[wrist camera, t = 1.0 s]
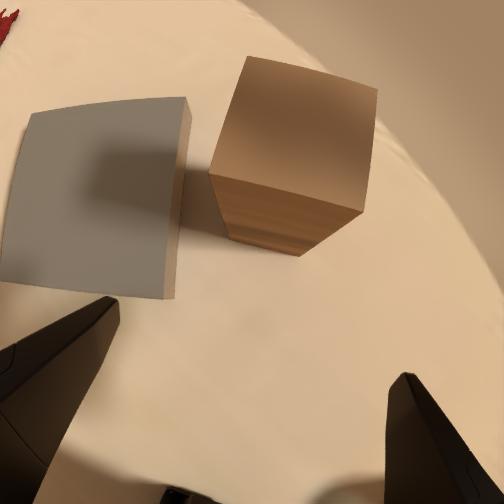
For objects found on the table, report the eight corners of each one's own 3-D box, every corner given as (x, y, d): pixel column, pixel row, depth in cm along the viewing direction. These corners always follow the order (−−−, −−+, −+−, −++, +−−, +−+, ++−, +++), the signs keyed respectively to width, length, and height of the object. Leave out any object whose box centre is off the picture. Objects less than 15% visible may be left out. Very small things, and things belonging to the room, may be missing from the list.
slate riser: (174, 298, 22) (163, 299, 19) (20, 282, 22) (-1, 280, 19) (192, 117, 24) (185, 96, 21) (47, 128, 24) (31, 113, 21)
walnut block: (299, 256, 23) (363, 212, 10) (229, 239, 23) (208, 172, 10) (313, 190, 23) (377, 89, 10) (247, 173, 23) (247, 55, 10)
